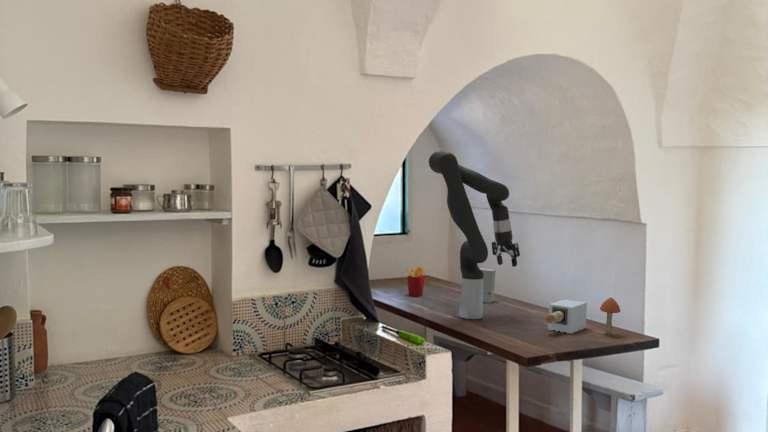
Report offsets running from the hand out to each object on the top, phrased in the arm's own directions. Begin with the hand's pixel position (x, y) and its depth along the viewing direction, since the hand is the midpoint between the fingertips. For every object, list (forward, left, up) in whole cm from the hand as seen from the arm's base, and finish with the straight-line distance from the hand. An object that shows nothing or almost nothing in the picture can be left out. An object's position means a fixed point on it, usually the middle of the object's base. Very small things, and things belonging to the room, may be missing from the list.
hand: (507, 265), depth 334 cm
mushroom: (+13, -47, -22) cm, 54 cm away
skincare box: (+11, +29, -22) cm, 38 cm away
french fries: (-10, +55, -22) cm, 60 cm away
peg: (-4, -36, -18) cm, 40 cm away
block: (+5, -32, -22) cm, 39 cm away
